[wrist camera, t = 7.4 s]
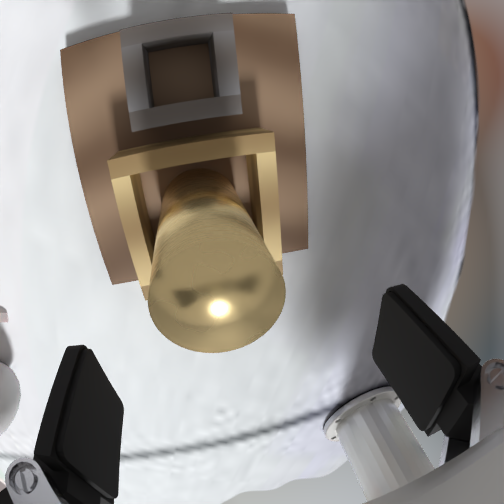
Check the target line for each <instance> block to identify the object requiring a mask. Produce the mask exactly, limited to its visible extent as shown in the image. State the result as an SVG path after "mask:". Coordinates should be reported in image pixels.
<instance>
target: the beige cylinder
mask: <svg viewBox="0 0 504 504" xmlns="http://www.w3.org/2000/svg"><path fill="white" fill-rule="evenodd" d="M285 293H286V290H285V282H284V279H283V276H282V274H281V272H280V269H279V268H278V266H277V264H276V262H275V260H274V259H273V257H272V255H271V253H270V251H269V250H268V248H267V246H266V244H265V243H264V241H263V239H262V237H261V235H260V234H259V232H258V230H257V228H256V226H255V225H254V223H253V221H252V219H251V218H250V216H249V214H248V212H247V211H246V209H245V207H244V205H243V203H242V202H241V200H240V198H239V196H238V195H237V193H236V191H235V189H234V188H233V186H232V184H231V183H230V181H229V180H228V179H227V178H226V177H225V176H223V175H222V174H220V173H219V172H217V171H214V170H211V169H207V168H194V169H190V170H187V171H184V172H183V173H181V174H179V175H178V176H176V177H175V178H174V179H173V180H172V181H171V182H170V184H169V185H168V187H167V188H166V190H165V193H164V196H163V201H162V206H161V212H160V217H159V223H158V229H157V235H156V241H155V248H154V254H153V261H152V269H151V276H150V284H149V292H148V308H149V312H150V316H151V318H152V320H153V322H154V324H155V326H156V327H157V329H158V330H159V331H160V332H161V333H162V334H163V335H164V336H165V337H166V338H167V339H169V340H170V341H172V342H173V343H175V344H177V345H179V346H181V347H183V348H186V349H189V350H193V351H197V352H204V353H219V352H227V351H231V350H235V349H238V348H241V347H244V346H246V345H248V344H250V343H252V342H254V341H255V340H257V339H258V338H260V337H261V336H263V335H264V334H265V333H266V332H267V331H268V330H269V329H270V328H271V327H272V326H273V325H274V323H275V322H276V320H277V319H278V317H279V315H280V314H281V312H282V309H283V306H284V302H285Z"/></svg>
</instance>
